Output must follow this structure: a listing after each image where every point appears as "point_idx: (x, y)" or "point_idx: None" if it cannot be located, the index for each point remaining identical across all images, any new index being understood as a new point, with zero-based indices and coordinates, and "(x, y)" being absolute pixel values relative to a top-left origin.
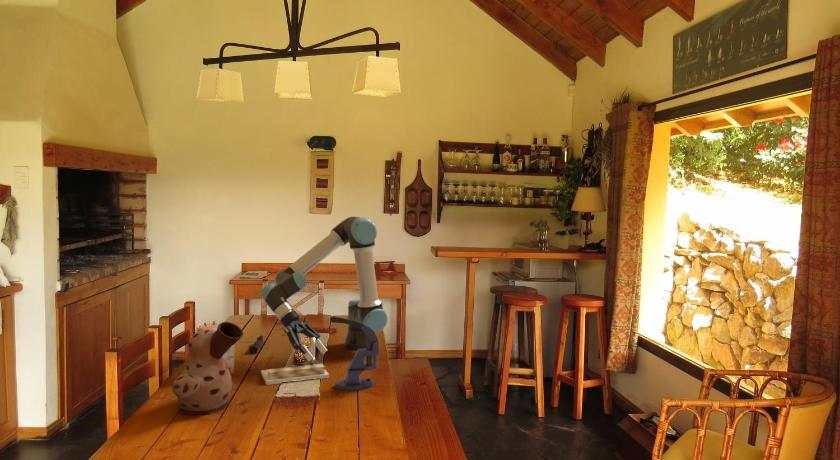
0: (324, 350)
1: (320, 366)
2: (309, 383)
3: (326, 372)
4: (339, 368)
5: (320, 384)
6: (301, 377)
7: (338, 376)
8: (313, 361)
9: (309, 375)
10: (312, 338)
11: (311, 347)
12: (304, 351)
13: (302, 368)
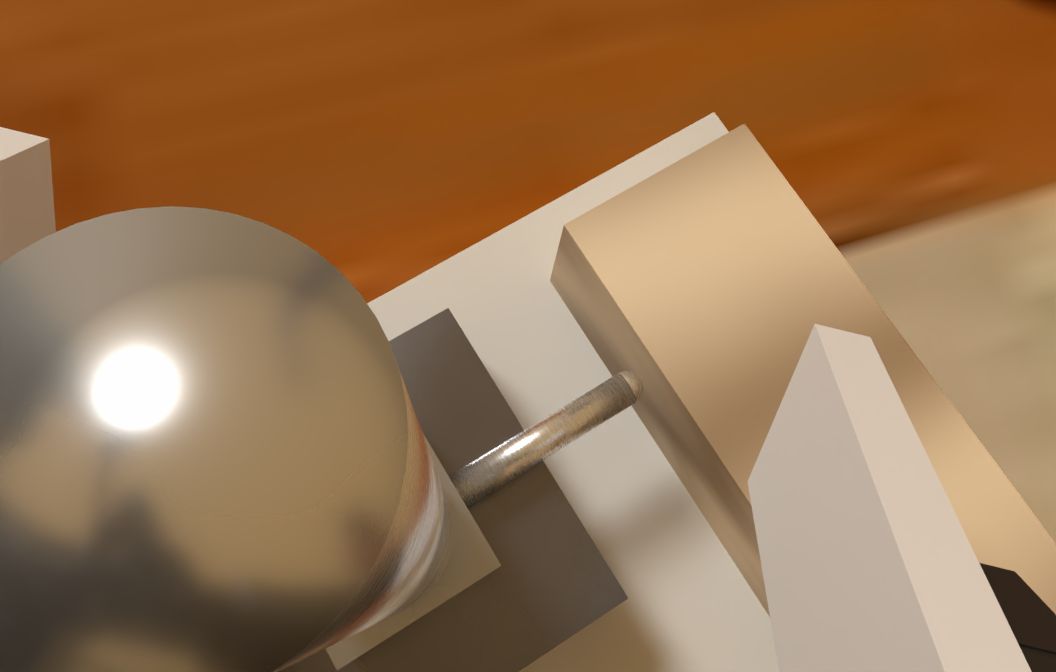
0: (19, 212)
1: (762, 211)
2: (1044, 374)
3: (622, 181)
4: (150, 105)
5: (1022, 192)
6: None
7: (580, 28)
8: (449, 477)
9: None
10: (392, 374)
11: (441, 506)
12: (1049, 620)
13: (1035, 566)
